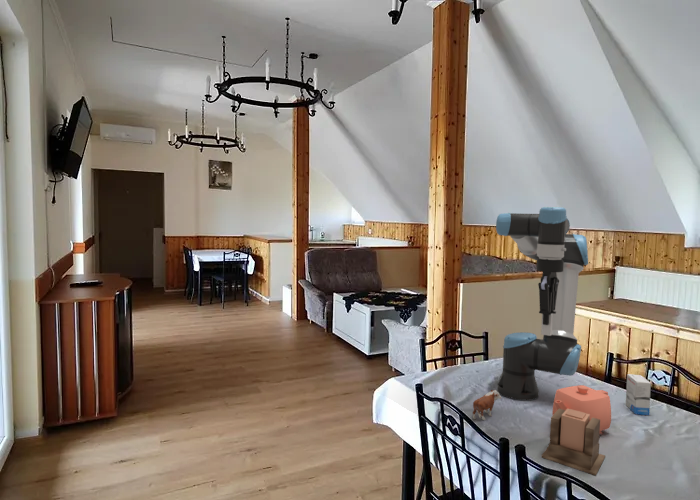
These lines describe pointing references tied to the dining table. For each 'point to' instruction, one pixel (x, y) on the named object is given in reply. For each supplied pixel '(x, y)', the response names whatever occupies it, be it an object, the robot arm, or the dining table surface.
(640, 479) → the dining table surface
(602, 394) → the teapot
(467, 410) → the dining table surface
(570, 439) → the block
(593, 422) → the wooden slotted stand
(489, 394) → the bull figurine
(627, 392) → the ink box
